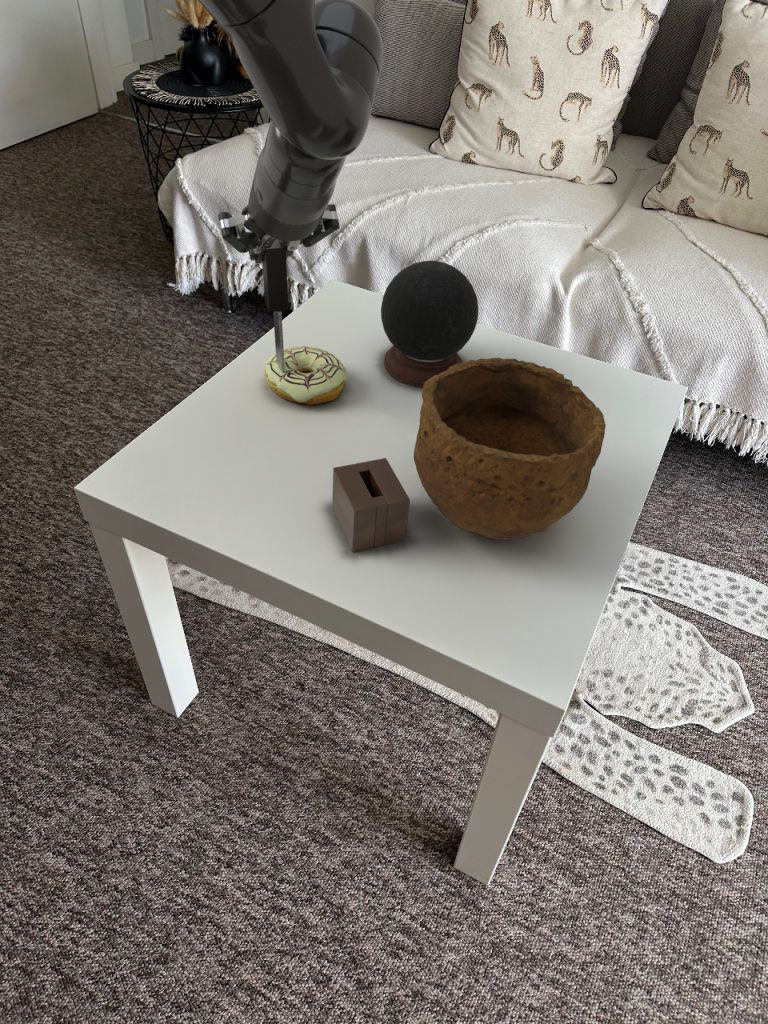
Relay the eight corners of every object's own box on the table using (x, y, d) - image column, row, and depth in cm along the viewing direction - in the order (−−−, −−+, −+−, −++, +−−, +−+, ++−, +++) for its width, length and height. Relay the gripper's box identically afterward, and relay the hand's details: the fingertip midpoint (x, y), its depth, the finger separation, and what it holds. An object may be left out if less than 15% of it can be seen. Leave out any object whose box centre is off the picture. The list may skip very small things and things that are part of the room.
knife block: (352, 552, 74) (354, 511, 70) (332, 508, 79) (333, 467, 75) (405, 540, 76) (410, 499, 72) (382, 498, 81) (386, 457, 76)
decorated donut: (304, 419, 90) (303, 395, 88) (249, 384, 95) (247, 360, 93) (360, 388, 96) (361, 364, 94) (306, 357, 101) (306, 333, 99)
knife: (274, 373, 90) (266, 250, 81) (268, 363, 92) (260, 242, 83) (292, 371, 91) (286, 248, 81) (286, 361, 93) (280, 240, 84)
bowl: (450, 440, 89) (468, 334, 79) (593, 496, 83) (632, 390, 73) (375, 527, 77) (384, 415, 67) (536, 600, 71) (573, 490, 61)
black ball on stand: (464, 344, 107) (480, 247, 96) (473, 394, 97) (491, 291, 87) (376, 339, 106) (383, 241, 96) (377, 389, 96) (384, 285, 86)
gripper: (353, 144, 71) (317, 219, 87) (213, 150, 67) (204, 228, 83) (367, 218, 71) (329, 279, 88) (229, 229, 67) (217, 291, 83)
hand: (268, 254), depth 85 cm, fingers closed on knife, 2 cm apart
